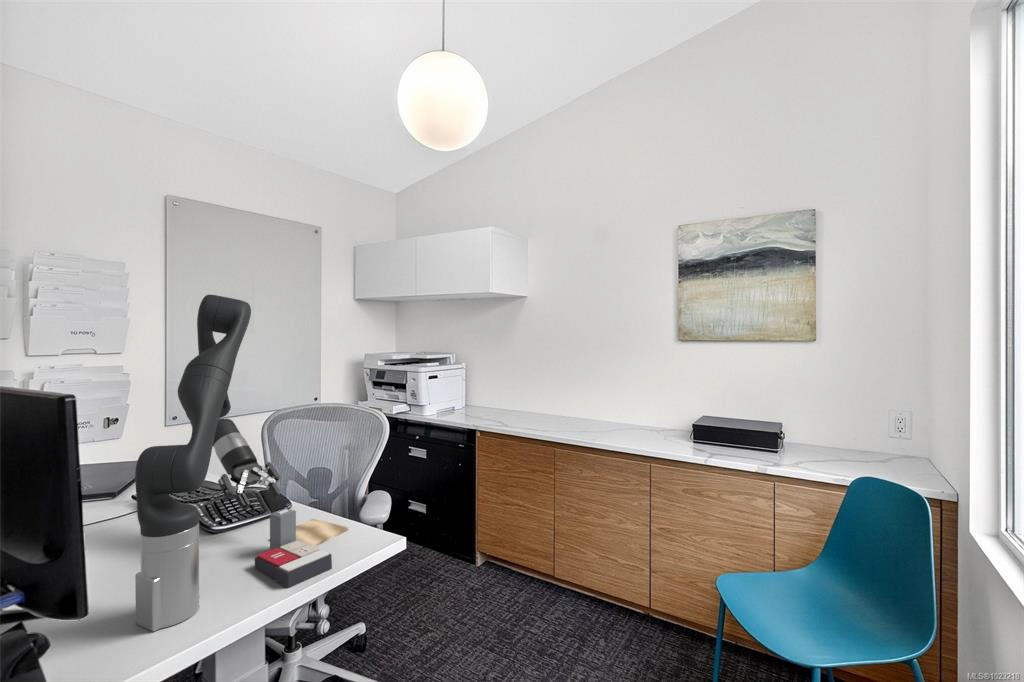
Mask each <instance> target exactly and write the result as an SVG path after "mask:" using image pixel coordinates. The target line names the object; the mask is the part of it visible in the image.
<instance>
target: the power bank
mask: <svg viewBox="0 0 1024 682" xmlns="http://www.w3.org/2000/svg"><path fill="white" fill-rule="evenodd" d="M296 526H297V510H294V509H289V508H283V509H280V510H278V511H274V512H272V513H270V514H269V550H272V549H275V548H278V549H279V548H280V546H283V545H286V544H289V543H291V542H294V541H296Z"/></svg>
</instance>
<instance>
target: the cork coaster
mask: <svg viewBox="0 0 1024 682" xmlns="http://www.w3.org/2000/svg"><path fill="white" fill-rule="evenodd" d="M348 531H349V527H348V526H345V525H340V524H337V523H332V522H328V521H324V520H320V519H315V518H312V519H309V520H307V521H305V522H302V523H300V524H298V525H297V524H296V541H297V540H298V541H301V542H303V543H306V544H307V545H311V546H314V547H317V546H319V545H321V544H323V543H326V542H327V541H329V540H331V539H333V538H335V537H337V536H340V535H341V534H343V533H345V532H348Z"/></svg>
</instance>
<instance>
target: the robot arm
mask: <svg viewBox="0 0 1024 682" xmlns="http://www.w3.org/2000/svg"><path fill="white" fill-rule="evenodd" d="M197 310H198V311H197V319H196V320H197V321H196V325H197V326H196V329H197V330H196V331H197V346H198V347H197V348H198V355H196V356H195V357H194V358H193V359H191V360H190V361H189V362H188V363H187V364H186V367H185V368H184V370H183V373H182V377H181V379H180V381H179V384H178V386H177V396H178V400H179V403H180V405H181V407H182V408H183V411H184V412H185V415H186V417H187V419H188V420H189V422H190V425H191V437H190V438H189V439H190V440H189V442H188V443H186V444H173V445H172V444H171V445H155V446H150V447H147V448H145V449H144V450H143V451H142V452H141V453H140V455H139V456H138V459H137V461H136V466H135V472H134V475H135V476H134V481H135V493H136V494H135V495H136V506H137V507H136V509H137V511H136V512H137V520H138V524H139V528H140V571H138V572H137V573H135V575H134V578H135V580H134V581H135V585H134V586H135V587H134V588H135V589H134V590H135V591H134V592H135V624H137V625H139V626H141V627H143V628H144V629H146V630H149V631H151V632H156V631H158V630H160V629H163V628H167V627H172V626H174V625H177V624H180V623H182V622H184V621H186V620H188V619H189V618H191V617H192V616H194V615H195V614H196V613H197V612H198V611H199V609H200V596H201V595H200V512H199V510H198V508H197V507H196V506H194V505H192V504H189V503H184V502H181V501H179V500H177V499H175V498H174V497H172V496H171V495H172V494H183V493H191V492H196V491H197V490H199V489H200V488H201V487H202V485H203V483H204V481H205V480H206V477H207V474H208V471H209V467H210V463H211V457H212V452H213V449H214V452H215V455H216V457H217V458H218V460H219V461H220V463H221V465H222V467H223V468H224V470H225V472H226V473H223V474H222V475H221V476H220V477H219V479H218V480H217V482H218V485H219V486H220V489H221V491H222V493H223V495H224V497H225V499H226V500H229V499H230V498H231V499H234V500H236V501H237V504H238V505H239V507H240V508H241V509H243V510H248V508H249V507H251V503H250V500H249V498H248V497H247V495H246V493H245V492H243V491H244V488H247V487H249V486H254V485H259V486H265V487H267V488H268V491H269V493H270V494H271V496H272V498H273V500H277V499H278V498H279V497H280V496H281V490H280V488H279V487H278V484H277V483H278V482H279V480H281V475H280V474H279V473H278V471H277V470H276V469H275V467H274V465H273V464H272V462H270V461H268V462H267V463H265V464H263V465H260V464H259V463H258V459H257V456H256V455H255V454H254V451H253V450H252V448H251V447H250V445H249V443H248V441H247V440H246V439H245V437H244V436H243V435H242V434H241V431H240V430H239V428H238V427H237V426H236V424H235V422H234V421H233V420H232V419H229V418H223V417H226V416H227V415H228V414H229V413H230V411H231V401H230V398H229V393H228V392H229V387H230V384H231V381H232V377H233V376H232V375H233V373H234V372H233V371H234V367H235V364H236V360H237V356H238V353H239V350H240V349H241V344H242V342H243V340H244V337H245V334H246V331H247V329H248V327H249V323H250V320H251V315H252V307H251V305H250V304H249V303H248V302H247V301H244V300H241V299H237V298H233V297H227V296H221V295H218V294H206V295H205V296H204V297H203V299H201V302H200V304H199V306H198V309H197ZM214 333H217V334H218V333H219V334H225V336H224V337H223V338H222V339H220V340H219V341H218V342H216V340H215V338H214ZM261 478H262V479H261ZM232 482H233V483H235V488H234V487H233V485H232Z"/></svg>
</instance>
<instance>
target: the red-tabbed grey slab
mask: <svg viewBox="0 0 1024 682" xmlns="http://www.w3.org/2000/svg"><path fill="white" fill-rule="evenodd" d="M332 555H333V554H331V553H329V552H327V551H324V550H322V549H320V548H319V547H317V546H315V547H314V546H311V545H307V544H306V543H303V542H301V541H298V540H297V541H294V542H291V543H289V544H286V545H283V546H280V548H279V549H278V548H275V549H272V550H270V549H269V550H267V551H264V552H262V553H259V554H257V556H255V557H254V570H256V571H257V572H259V573H260V574H262V575H264V576H266V577H268V578H270V579H271V580H274V581H275V582H276V583H277V584H278V585H280V586H282V587H283V588H284V589H290V588H293V587H295V586H297V585H298V584H301V583H304V582H306V581H308V580H310V579H312V578H315V577H317V576H319V575H321V574H324V573H326V572H328V571H330V570H332V569H333V558H332Z"/></svg>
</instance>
